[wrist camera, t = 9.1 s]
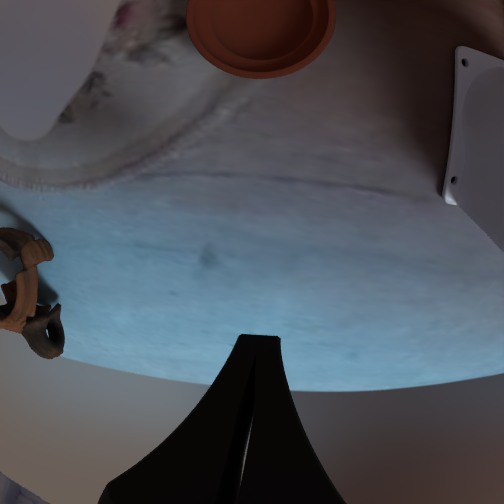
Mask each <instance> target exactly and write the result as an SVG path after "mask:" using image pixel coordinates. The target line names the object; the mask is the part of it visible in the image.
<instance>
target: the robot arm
mask: <svg viewBox="0 0 504 504" xmlns="http://www.w3.org/2000/svg"><path fill="white" fill-rule="evenodd" d="M462 59H464V60H465V63H466V64H465V66H463V65H462V62H461V61H462ZM454 176H455V180H454V182H452V183H451V178H452V177H454ZM442 198H443V200H444V201H445V202H446V203H448V204H454V205H458V206H459V207H460V208H461V209H462V210H463V211H464V212H465V213H466V214H467V215H468V216H469V217H470V218H471V219H472V220H473V221H474V222H475V223H476V224H477V225H478V226H479V227H480V228H481V229H482V230H483V231H484V232H485V233H486V234H487V235H488V236H489V237H490V238H491V239H492V240H493V242H494V243H495V244H496V245H497V246H498V247H499V248H500V249H501V250H502V252H503V253H504V61H503V60H501V59H499V58H496V57H493V56H491V55H488V54H486V53H483V52H480V51H477V50H474V49H471V48H468V47H465V46H459V47H457V48H456V49H455V88H454V107H453V120H452V130H451V139H450V148H449V155H448V162H447V169H446V175H445V181H444V187H443V192H442ZM252 419H253V420H252ZM251 424H252V426H251ZM250 428H251V433H250V438H249V444H248V449H247V455H246V460H245V465H244V470H243V475H242V467H243V460H244V455H245V449H246V445H247V441H248V436H249V432H250ZM241 475H242V480H241ZM240 483H241V485H240ZM0 504H50V503H48V502H46V501H44V500H42V499H41V498H40V497H39V496H37V495H35V494H34V493H32V492H30V491H29V490H27V489H26V488H24V487H22V486H21V485H19V484H18V483H16V482H14V481H13V480H11V479H10V478H8V477H7V476H5V475H4V474H3V473H1V472H0ZM98 504H346V503H345V501H344V500H343V498H342V497H341V496H340V494H339V493H338V491H337V490H336V488H335V486H334V485H333V483H332V482H331V480H330V479H329V477H328V475H327V474H326V472H325V470H324V468H323V466H322V465H321V463H320V461H319V459H318V457H317V456H316V454H315V452H314V450H313V448H312V446H311V444H310V442H309V439H308V437H307V436H306V433H305V431H304V428H303V426H302V424H301V421H300V419H299V416H298V413H297V411H296V408H295V405H294V402H293V399H292V396H291V393H290V389H289V386H288V382H287V379H286V375H285V371H284V366H283V361H282V355H281V338H279V337H278V336H267V335H250V334H241V335H239V336H238V339H237V341H236V343H235V345H234V348H233V350H232V352H231V354H230V355H229V357H228V359H227V361H226V363H225V364H224V366H223V368H222V369H221V371H220V372H219V374H218V376H217V377H216V379H215V380H214V382H213V383H212V385H211V386H210V388H209V389H208V391H207V392H206V393H205V395H204V396H203V397H202V399H201V400H200V401H199V403H198V404H197V405H196V407H195V408H194V409H193V410H192V411H191V413H190V414H189V415H188V416H187V417H186V418H185V420H184V421H183V422H182V423H181V424H180V425H179V426H178V427H177V428H176V429H175V430H174V431H173V432H172V433H171V434H170V435H169V436H168V437H167V438H166V439H165V440H164V441H163V442H162V443H161V444H160V445H159V446H158V447H156V448H155V449H154V450H153V451H152V452H150V453H149V454H148V455H147V456H146V457H144V458H143V459H142V460H141V461H139V462H138V463H137V464H136V465H134V466H133V467H131V468H130V469H128V470H127V471H125V472H124V473H122V474H121V475H120V476H118V477H116V478H115V479H113V480H112V481H110V482H109V483H108V484H107V485H106V487H105V489H104V491H103V493H102V495H101V497H100V499H99V501H98Z"/></svg>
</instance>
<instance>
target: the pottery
mask: <svg viewBox="0 0 504 504" xmlns="http://www.w3.org/2000/svg"><path fill="white" fill-rule="evenodd" d="M335 21H336V11H335V4H334V0H189V1H188V4H187V10H186V24H187V29H188V33H189V36H190V38H191V40H192V42H193V44H194V46H195V47H196V49H197V50H198V51H199V53H200V54H201V55H202V56H203V57H204V58H205V59H206V60H207V61H209V62H210V63H211V64H213V65H214V66H216V67H217V68H219V69H221V70H223V71H225V72H227V73H230V74H233V75H236V76H240V77H245V78H253V79H267V78H275V77H280V76H284V75H287V74H290V73H293V72H295V71H298V70H300V69H301V68H303V67H305V66H307V65H308V64H309V63H311V62H312V61H313V60H315V59H316V58H317V57H318V56H319V55H320V54H321V53H322V51H323V50H324V49H325V47H326V46H327V44H328V43H329V41H330V39H331V37H332V34H333V31H334V27H335Z"/></svg>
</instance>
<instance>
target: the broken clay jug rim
mask: <svg viewBox="0 0 504 504" xmlns="http://www.w3.org/2000/svg"><path fill="white" fill-rule="evenodd" d="M0 250H1V251H2V252H4V253H5V255H6V256H7V257H8V259H9V260H10V261H12V260H14V259H15V258H17V257H20V260H21V262H22V264H23V270H22V271H21V272H19V273H17V274H16V282H15V281H11V282H9V283H7V284H2V285H1V289H2V291H3V293H4V295H5V299H6V302H7V304H5V305H1V306H0V329H1V328H4V329H6V330H9V331H13V332H18V333H21V334H22V335H23V336H24V338H25V339H26V340H27V342H28V344H29V346H30V347H31V349H32V350H33V351H34V352H35V353H37V354H38V355H39V356H40V357H43V358H47V359H53V358H54V357H58V356H60V355H61V354H62V353H63V348H64V343H65V336H64V330H63V326H62V323H61V320H60V312H61V305H60V304H59V303H57V304H56V305H55V307H54V308H52V309H51V305H45V306H40V305H37V304H36V303H37V288H38V271H37V266H36V265H37V264H39V263H41V262H43V261H51V260H52V259H53V257H54V254H53V251H52V249H51V247H50V244H49V243H48V242H47V241H44V240H42V239H38V240H35V238H34V236H33V235H31V234H29V233H27V232H24V231H21V230H18V229H14V228H4V227H3V228H0ZM50 309H51V310H50ZM46 329H47V330H48V335H49V338H48V336H47V333H46Z"/></svg>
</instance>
